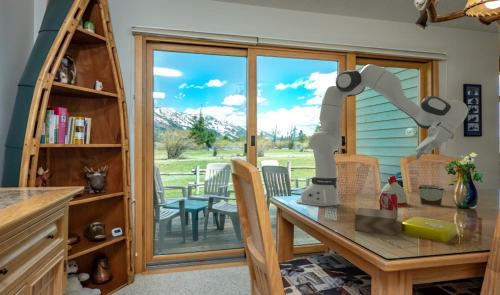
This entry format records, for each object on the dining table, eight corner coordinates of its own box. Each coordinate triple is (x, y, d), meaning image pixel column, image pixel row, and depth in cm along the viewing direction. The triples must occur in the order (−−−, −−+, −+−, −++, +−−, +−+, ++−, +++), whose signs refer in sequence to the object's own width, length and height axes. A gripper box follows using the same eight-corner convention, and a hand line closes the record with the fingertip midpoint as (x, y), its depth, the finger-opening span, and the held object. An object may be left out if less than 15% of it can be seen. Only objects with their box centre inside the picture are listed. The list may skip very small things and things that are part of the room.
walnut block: (354, 230, 120) (355, 214, 120) (359, 222, 133) (359, 207, 132) (395, 235, 114) (395, 218, 114) (395, 225, 127) (396, 211, 127)
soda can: (399, 222, 132) (399, 193, 132) (381, 221, 133) (381, 193, 133) (395, 218, 139) (395, 191, 139) (378, 217, 140) (378, 190, 140)
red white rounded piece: (373, 202, 175) (374, 175, 175) (387, 200, 183) (387, 174, 183) (398, 207, 164) (398, 178, 164) (411, 204, 172) (412, 176, 172)
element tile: (457, 234, 116) (458, 221, 116) (446, 244, 106) (446, 229, 106) (414, 226, 127) (414, 215, 127) (399, 234, 117) (399, 221, 117)
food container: (445, 204, 171) (445, 186, 171) (444, 206, 166) (444, 187, 166) (419, 202, 178) (419, 184, 178) (417, 203, 173) (418, 185, 173)
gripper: (423, 134, 148) (405, 156, 146) (444, 120, 128) (423, 145, 127) (435, 143, 146) (417, 165, 145) (458, 129, 127) (437, 155, 125)
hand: (420, 156), depth 136 cm, fingers open, 8 cm apart
